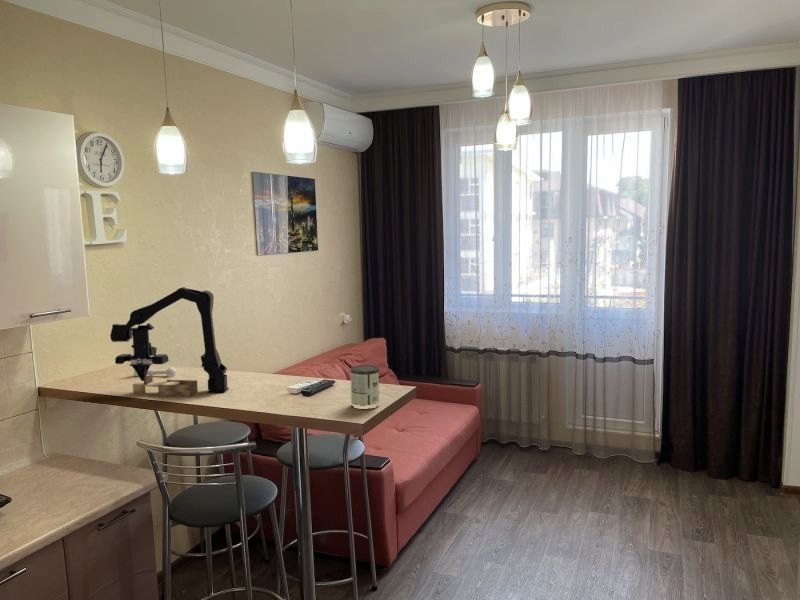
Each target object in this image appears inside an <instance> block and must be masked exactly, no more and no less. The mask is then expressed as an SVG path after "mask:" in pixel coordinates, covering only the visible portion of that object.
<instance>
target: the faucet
mask: <svg viewBox="0 0 800 600" xmlns="http://www.w3.org/2000/svg"><path fill="white" fill-rule="evenodd" d="M141 362H143V361H141ZM132 375H133V376H135V377H139V376H138V374H137V372H136V371H135V370H134V369H133V374H132ZM150 375H152V376H154V375H166V377H167V376H168V377H167V378H175V377H177V370H176V368H175V367H173V366H170V367H168V368H167V369H150V368H149V369H148V372H147V375H146V376H150ZM174 376H175V377H174Z"/></svg>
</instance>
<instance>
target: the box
mask: <svg viewBox="0 0 800 600" xmlns="http://www.w3.org/2000/svg"><path fill="white" fill-rule="evenodd" d="M166 382H180V383H179V384H178V385H162V384H159V385H158V397H176V396H177V397H178V396H181V397H182V396H183V397H184V398H185V397H187V398H188V397H189V398H190V397H191V396H193V395H195V394H196V393H197V392H198V380H196V379H194V380H193V379H192V380H191V379H190V380H189V379H166ZM183 397H182V398H183ZM178 398H179V397H178Z"/></svg>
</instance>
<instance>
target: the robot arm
mask: <svg viewBox="0 0 800 600" xmlns="http://www.w3.org/2000/svg"><path fill="white" fill-rule="evenodd" d="M182 299H183V300H186V301H188V302H192V303H195V304H196V308H197V310H198V313H199V314H200V319H201V327H202V337H203V345H204V353H203V354H202V355H201V356H200V360H201V361H200V362H201V366H200V367H201V368H203V370H204V371H205V373H207V375H208V379H207V393H210V394H211V393H216V394H217V393H219V394H222V393H223V394H224V393H225V392H228V391H229V389H230V387H228V374H226V372H227V371H228V368H227V367H226V365H224V364H223V362H222V359H221V358H220V353H219V351H218V349H217V346H216V338H215V329H214V321H213V320H214V319H213V310H214V309H213V308H214V299H215V297H214V294H213V293H212V291H209V290H202V291H201V290H197V289H191V288H187V287H185V286H182V287H180V288H178V289H176V290H175V291H173V292H172V293H170V294H168V295H166V296H164V297H162V298H160V299H159V300H158V301H155V302H153V303H152V304H149V305H146V306H143V307H139V308H137V309H135V310H133V311H132V312H131V313H130V316H129V320H128V321H127V322H126V323H125V324H121V323H114V324H112V326H111V331H110V335H109V337H110V340H111V342H112V343H118V342H119V343H122V342H123V343H124V342H125V343H126V342H129V341H130V340H132V344H131V348H133V349H132V350H133V351H132V352H133V355H132V354H131V353H122V354H120V355H117V356H116V357H115V359H114V364H115V365H116V364H117V365H123V364H124V363H125V362H130V364H129V366H130V367H132V368H133V371H134V370H135V371H136V372H137V374H138V376H137V377H138V378H139V379H140V381H141V382H144V378H146V377H147V376H148V375H147V372H148V369H150V366H151V365H153V364H154V365H164V364H166V363H168V362H169V356H168V354H163V353H162V354H160V353H159V354H157V349H158V348H157V347H156V346H152V343H151V342H150V337H149V336H150V334H149V333H150V332H149V331H152V330H153V329H155V326H153V325H152V324H151V323H150V322H148V323H147V321H149V320H150V319H152V317H154V316H155V315H156V314H157V313H158V312H160V311H162V310H164V309H166V308H167V307H169V306H171V305H173V304H175V303H176V302H178V301H179V300H182ZM145 323H146V325H145ZM135 326H137V327H135ZM141 361H143V362H141Z"/></svg>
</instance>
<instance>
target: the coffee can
mask: <svg viewBox="0 0 800 600" xmlns="http://www.w3.org/2000/svg"><path fill="white" fill-rule="evenodd" d="M379 371H380V367H378V366H377V365H371V364H370V365H369V364H363V365H362V364H360V365H354V366H352V367H350V372H351V373H350V390H351V391H350V392H351V393H350V395H351V397H350V398H351V400H350V402H351V403H352V404H354V405H360V406H366V405H373V404H377V403H378V402H379V403H380V399H379V398H380V395H379V394H380V391H379V390H380V384H379V383H380V380H379V378H380V375H379V374H380V373H379ZM351 403H350V404H351Z"/></svg>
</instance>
